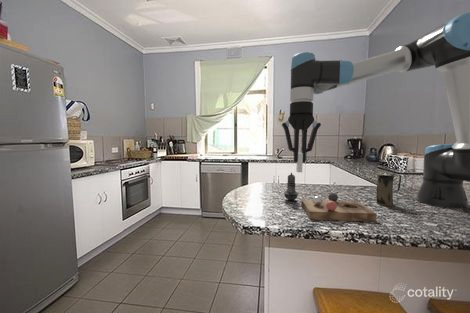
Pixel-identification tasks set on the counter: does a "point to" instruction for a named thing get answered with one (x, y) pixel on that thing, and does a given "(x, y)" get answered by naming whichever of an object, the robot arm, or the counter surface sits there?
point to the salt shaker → (291, 190)
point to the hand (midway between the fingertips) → (299, 171)
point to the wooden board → (339, 211)
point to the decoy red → (331, 205)
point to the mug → (386, 189)
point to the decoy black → (333, 197)
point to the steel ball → (317, 200)
